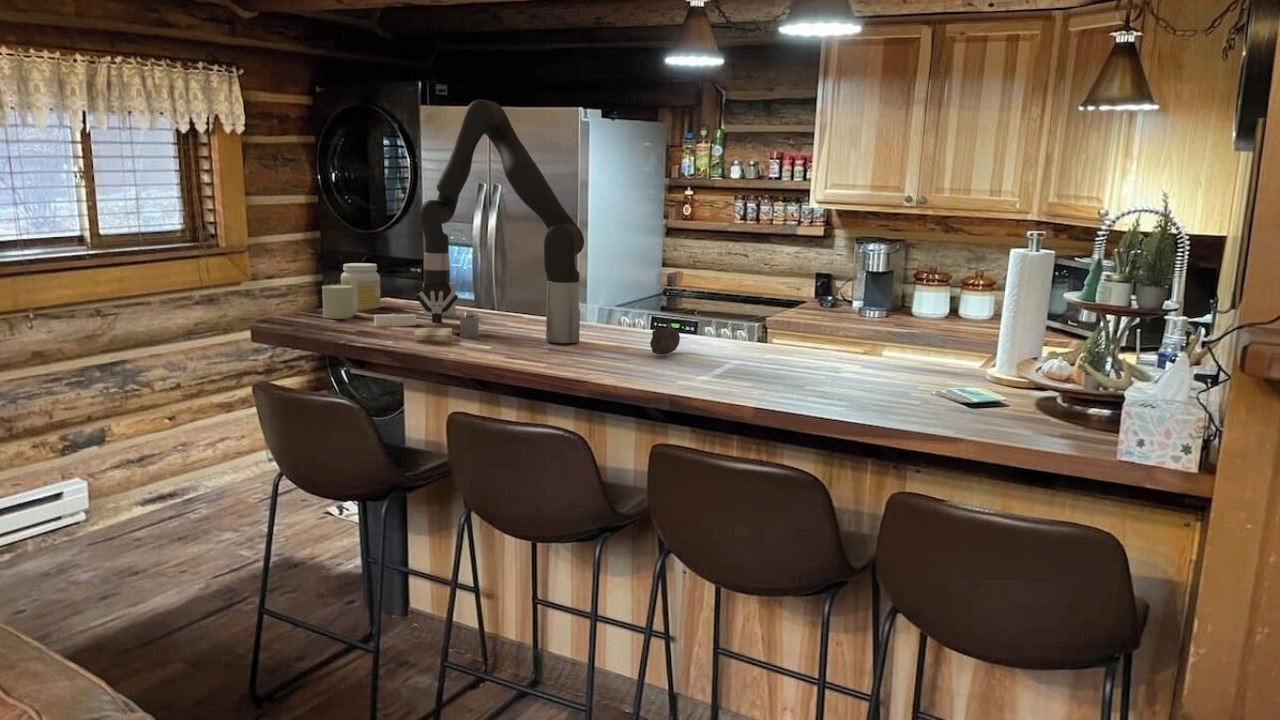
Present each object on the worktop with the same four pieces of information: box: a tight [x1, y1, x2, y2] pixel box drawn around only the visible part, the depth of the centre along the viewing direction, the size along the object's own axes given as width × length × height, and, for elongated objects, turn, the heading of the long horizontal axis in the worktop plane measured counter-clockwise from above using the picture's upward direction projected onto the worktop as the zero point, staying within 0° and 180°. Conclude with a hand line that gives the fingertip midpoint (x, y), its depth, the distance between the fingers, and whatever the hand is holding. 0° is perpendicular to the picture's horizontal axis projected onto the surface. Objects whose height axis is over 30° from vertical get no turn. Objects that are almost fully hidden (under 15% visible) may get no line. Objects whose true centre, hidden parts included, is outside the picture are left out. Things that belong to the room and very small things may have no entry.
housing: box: [459, 310, 479, 339], centre depth 276 cm, size 5×9×7 cm, turn 9°
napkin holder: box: [373, 313, 417, 327], centre depth 280 cm, size 15×11×6 cm
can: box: [321, 284, 355, 320], centre depth 289 cm, size 9×9×12 cm
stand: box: [413, 327, 453, 345], centre depth 266 cm, size 10×13×2 cm
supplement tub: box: [340, 262, 382, 313], centre depth 307 cm, size 12×12×17 cm
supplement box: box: [422, 282, 457, 318], centre depth 299 cm, size 7×7×13 cm
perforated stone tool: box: [649, 327, 681, 355], centre depth 258 cm, size 15×5×7 cm, turn 153°
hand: (436, 325), depth 286 cm, fingers closed
